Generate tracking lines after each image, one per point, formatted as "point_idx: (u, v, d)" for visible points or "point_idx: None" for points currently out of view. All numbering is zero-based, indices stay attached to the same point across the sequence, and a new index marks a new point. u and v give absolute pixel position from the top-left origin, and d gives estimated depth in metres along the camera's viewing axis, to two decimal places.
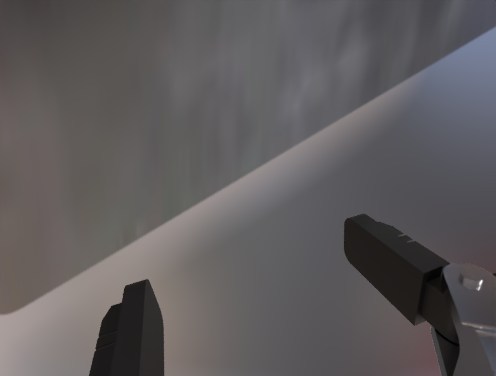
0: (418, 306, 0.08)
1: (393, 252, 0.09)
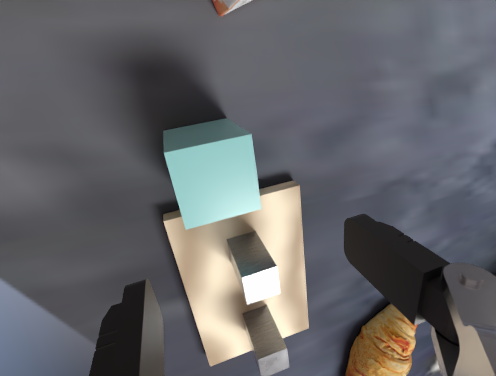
0: (418, 306, 0.08)
1: (393, 252, 0.09)
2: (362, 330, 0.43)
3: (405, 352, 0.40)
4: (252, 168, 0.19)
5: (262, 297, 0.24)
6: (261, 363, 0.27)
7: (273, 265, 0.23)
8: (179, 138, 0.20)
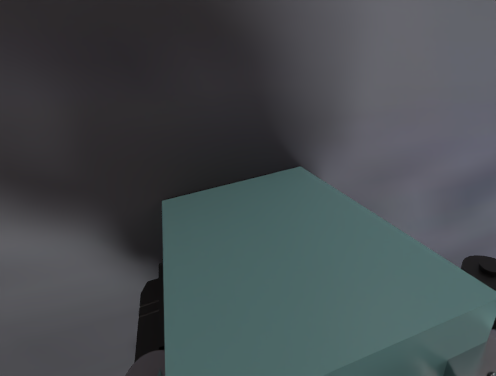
0: None
1: None
2: None
3: None
4: None
5: None
6: None
7: None
8: (212, 262, 0.07)
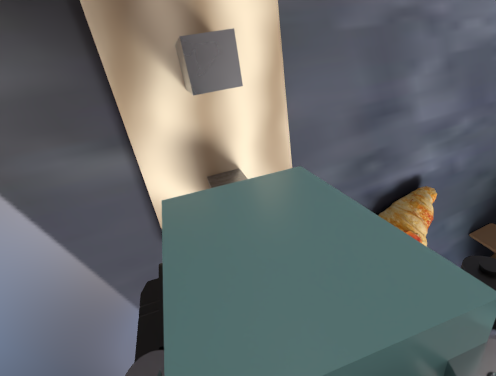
0: None
1: None
2: None
3: None
4: None
5: (216, 86, 0.17)
6: None
7: None
8: (212, 262, 0.07)
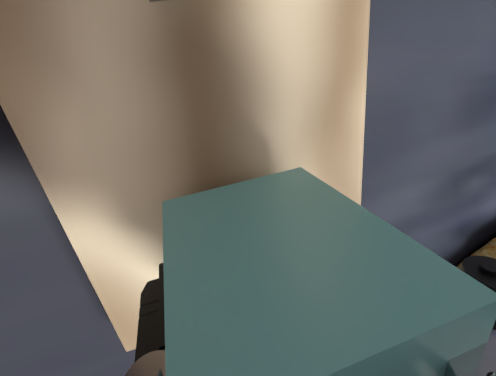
0: None
1: None
2: None
3: None
4: None
5: None
6: None
7: None
8: (212, 263, 0.07)
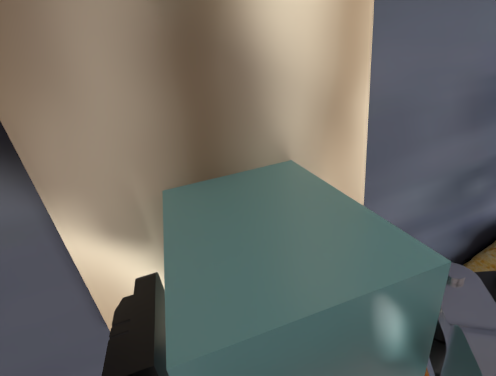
0: None
1: None
2: None
3: None
4: (424, 343, 0.06)
5: None
6: None
7: None
8: (207, 240, 0.07)
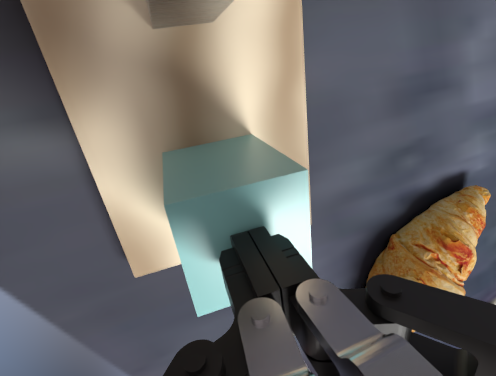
0: (286, 320, 0.08)
1: (268, 266, 0.09)
2: (392, 238, 0.27)
3: (463, 270, 0.25)
4: (304, 221, 0.12)
5: None
6: None
7: None
8: (188, 170, 0.13)
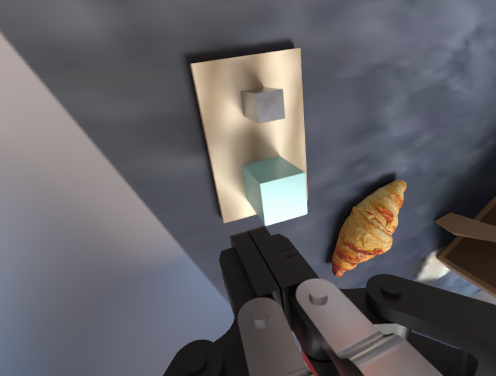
0: (287, 320, 0.08)
1: (268, 266, 0.09)
2: (353, 208, 0.48)
3: (389, 224, 0.46)
4: (304, 191, 0.33)
5: (271, 118, 0.30)
6: None
7: (280, 89, 0.29)
8: (260, 172, 0.34)
